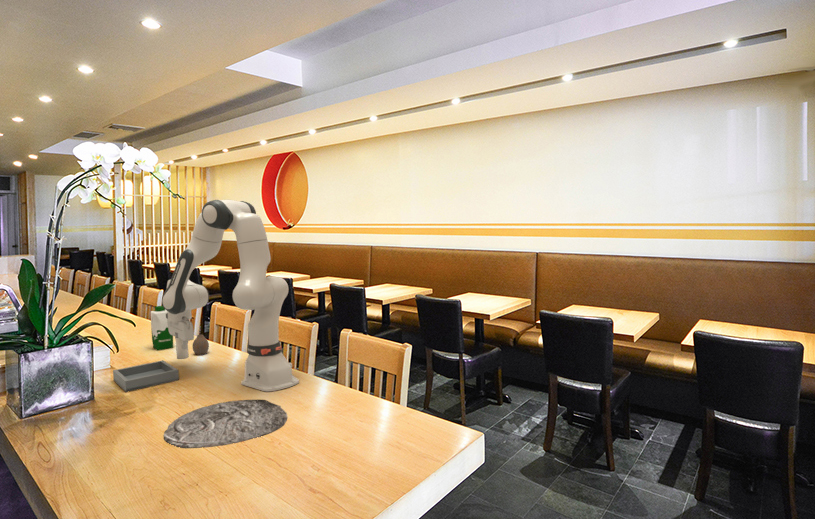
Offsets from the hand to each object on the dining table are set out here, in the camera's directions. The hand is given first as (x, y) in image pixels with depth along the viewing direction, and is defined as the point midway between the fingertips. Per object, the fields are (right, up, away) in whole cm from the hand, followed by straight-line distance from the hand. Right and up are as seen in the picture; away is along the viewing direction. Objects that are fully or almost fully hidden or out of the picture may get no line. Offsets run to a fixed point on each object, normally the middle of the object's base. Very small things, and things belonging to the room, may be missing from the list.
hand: (182, 348), depth 199 cm
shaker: (0, -4, 0) cm, 4 cm away
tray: (-6, -9, -16) cm, 20 cm away
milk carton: (-24, -6, +31) cm, 39 cm away
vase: (-1, -7, +20) cm, 21 cm away
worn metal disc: (+40, -13, -55) cm, 69 cm away
